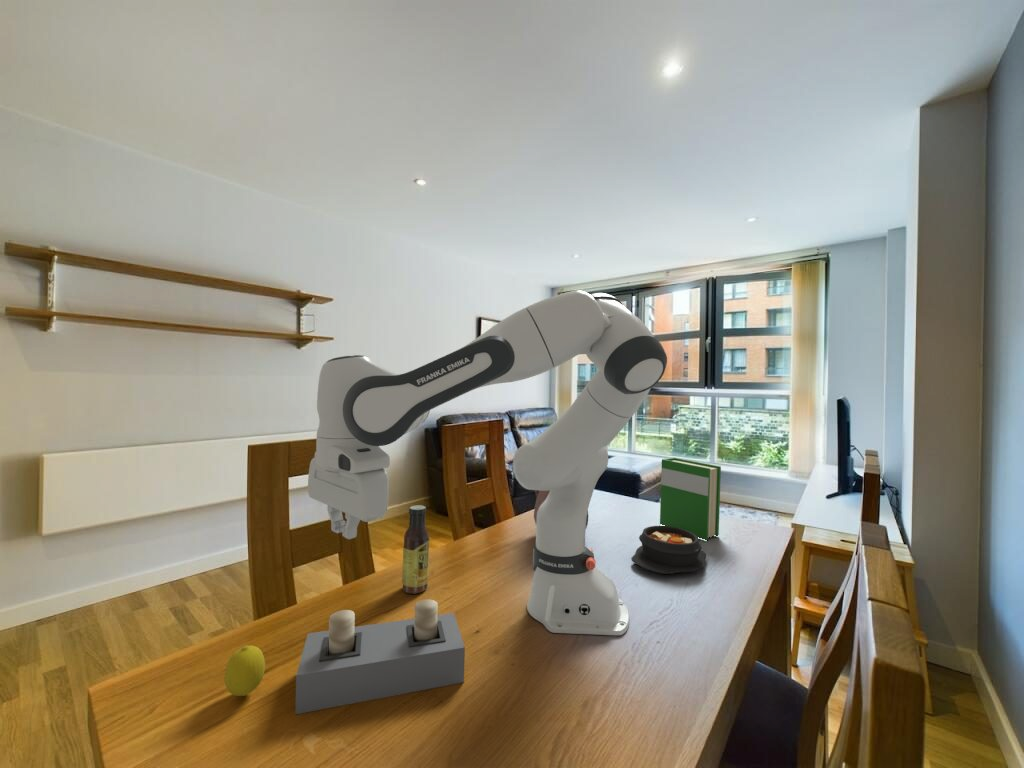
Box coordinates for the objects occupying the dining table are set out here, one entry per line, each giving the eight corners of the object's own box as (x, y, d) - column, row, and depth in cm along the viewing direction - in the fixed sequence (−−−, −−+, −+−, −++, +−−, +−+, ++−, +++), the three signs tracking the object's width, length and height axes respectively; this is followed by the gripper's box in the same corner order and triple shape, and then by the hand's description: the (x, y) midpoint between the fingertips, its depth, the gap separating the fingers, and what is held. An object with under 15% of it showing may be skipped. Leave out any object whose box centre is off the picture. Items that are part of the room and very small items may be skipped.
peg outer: (354, 641, 75) (355, 608, 74) (353, 655, 71) (354, 621, 71) (330, 645, 73) (330, 611, 73) (327, 660, 70) (327, 624, 69)
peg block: (453, 643, 83) (454, 611, 83) (463, 682, 73) (464, 646, 73) (307, 666, 76) (307, 632, 76) (295, 714, 65) (296, 673, 65)
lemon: (236, 683, 71) (236, 636, 71) (271, 682, 72) (271, 635, 72) (216, 709, 66) (216, 658, 66) (254, 708, 66) (254, 657, 66)
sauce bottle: (421, 596, 100) (423, 512, 100) (397, 593, 102) (398, 510, 101) (432, 583, 107) (434, 504, 107) (409, 580, 108) (410, 502, 108)
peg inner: (435, 629, 79) (436, 598, 79) (438, 642, 75) (439, 609, 75) (413, 632, 78) (414, 600, 77) (415, 646, 74) (415, 612, 74)
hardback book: (718, 537, 144) (720, 466, 143) (706, 542, 139) (708, 468, 139) (672, 522, 158) (674, 457, 158) (659, 525, 154) (661, 459, 153)
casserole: (674, 589, 108) (675, 555, 107) (615, 562, 122) (616, 533, 122) (722, 564, 123) (723, 535, 123) (664, 543, 138) (665, 517, 137)
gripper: (298, 446, 76) (297, 524, 76) (359, 464, 63) (358, 557, 63) (333, 443, 81) (331, 515, 81) (396, 458, 67) (394, 545, 68)
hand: (343, 534), depth 72 cm, fingers open, 2 cm apart
